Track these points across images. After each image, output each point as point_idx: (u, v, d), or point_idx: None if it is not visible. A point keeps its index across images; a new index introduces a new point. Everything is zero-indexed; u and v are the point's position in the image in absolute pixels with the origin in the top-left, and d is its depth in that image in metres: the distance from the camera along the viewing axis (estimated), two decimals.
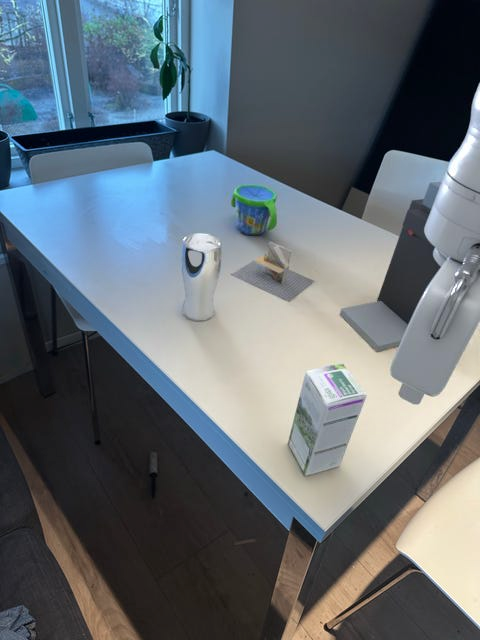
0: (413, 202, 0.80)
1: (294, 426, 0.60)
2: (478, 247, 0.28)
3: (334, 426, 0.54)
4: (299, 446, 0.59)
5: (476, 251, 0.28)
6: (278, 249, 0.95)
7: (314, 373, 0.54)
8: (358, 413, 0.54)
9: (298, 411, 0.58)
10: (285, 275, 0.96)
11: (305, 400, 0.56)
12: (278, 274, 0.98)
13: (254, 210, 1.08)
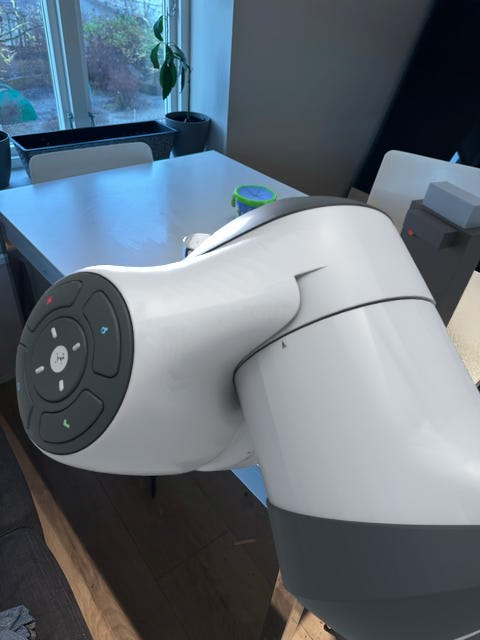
0: (413, 202, 0.80)
1: None
2: None
3: None
4: None
5: None
6: None
7: None
8: None
9: None
10: None
11: None
12: None
13: None
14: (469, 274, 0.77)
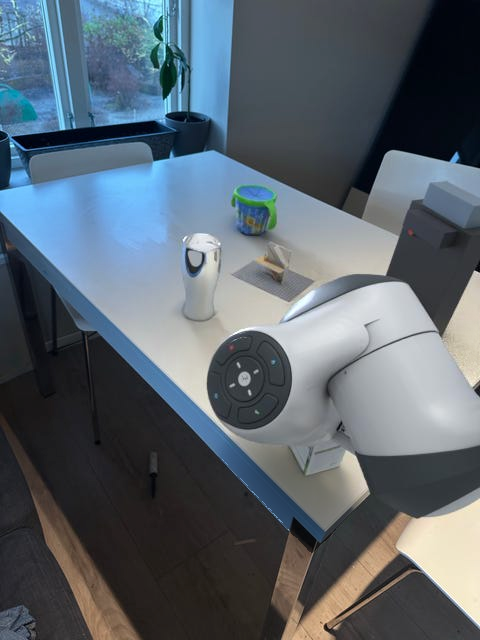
0: (413, 202, 0.80)
1: None
2: (343, 429, 0.43)
3: None
4: None
5: None
6: (278, 249, 0.95)
7: None
8: None
9: None
10: (285, 275, 0.96)
11: None
12: (278, 274, 0.98)
13: (254, 210, 1.08)
14: (469, 274, 0.77)
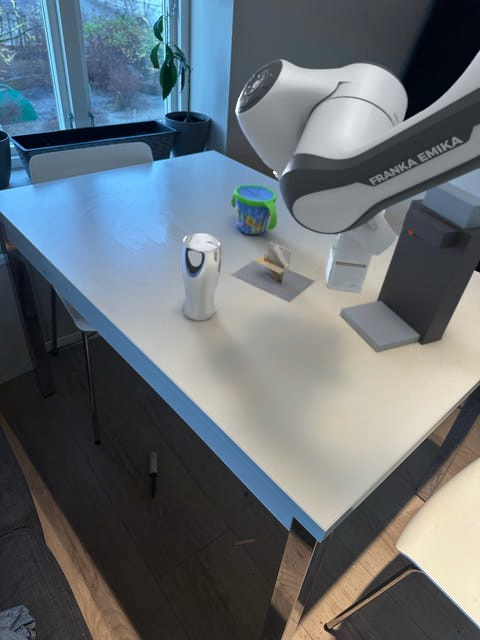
0: (413, 202, 0.80)
1: None
2: None
3: None
4: (329, 264, 0.73)
5: None
6: (278, 249, 0.95)
7: None
8: None
9: None
10: (285, 275, 0.96)
11: None
12: (278, 274, 0.98)
13: (254, 210, 1.08)
14: (469, 274, 0.77)
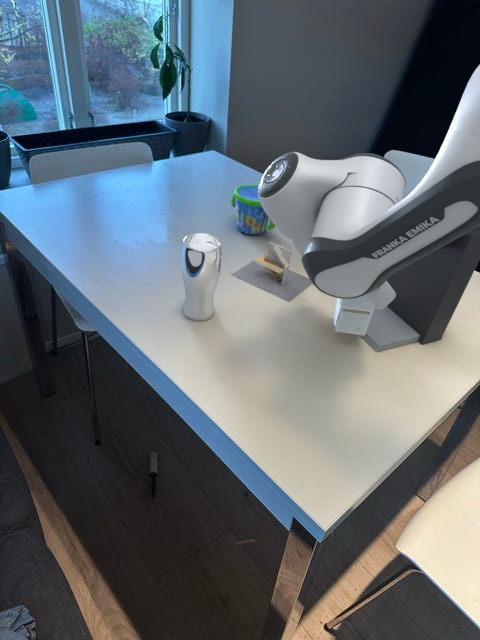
0: None
1: None
2: None
3: None
4: (336, 309, 0.81)
5: None
6: (278, 249, 0.95)
7: None
8: None
9: None
10: (285, 275, 0.96)
11: None
12: (278, 274, 0.98)
13: (254, 210, 1.08)
14: (469, 274, 0.77)
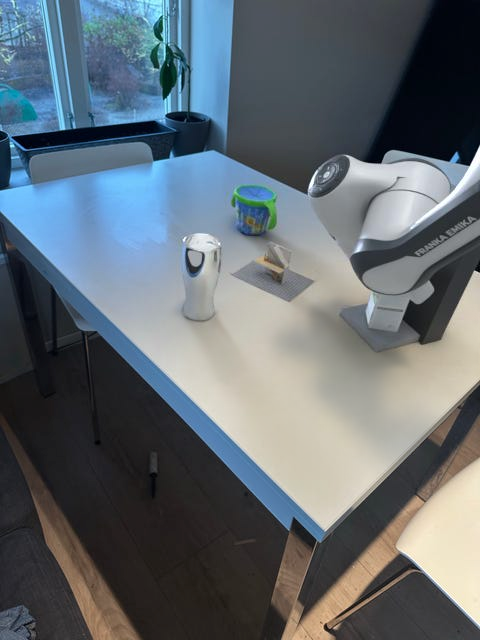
0: None
1: (371, 294, 0.86)
2: None
3: None
4: (370, 307, 0.85)
5: None
6: (278, 249, 0.95)
7: None
8: None
9: None
10: (285, 275, 0.96)
11: None
12: (278, 274, 0.98)
13: (254, 210, 1.08)
14: (469, 274, 0.77)
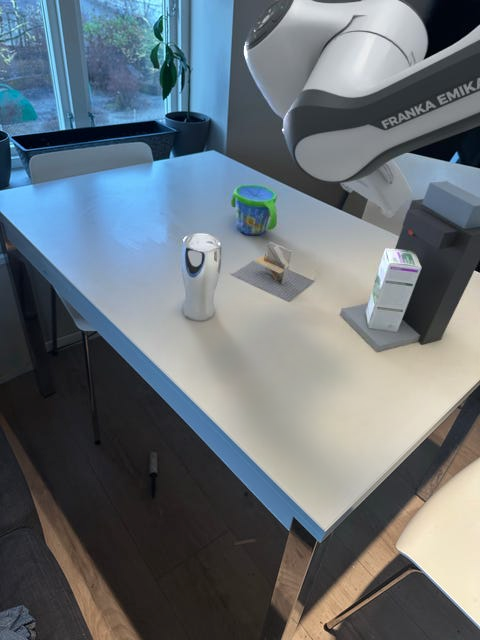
0: (413, 202, 0.80)
1: (371, 294, 0.86)
2: None
3: (393, 287, 0.79)
4: (370, 307, 0.85)
5: None
6: (278, 249, 0.95)
7: (390, 250, 0.80)
8: (414, 283, 0.78)
9: (375, 280, 0.84)
10: (285, 275, 0.96)
11: (380, 269, 0.81)
12: (278, 274, 0.98)
13: (254, 210, 1.08)
14: (469, 274, 0.77)
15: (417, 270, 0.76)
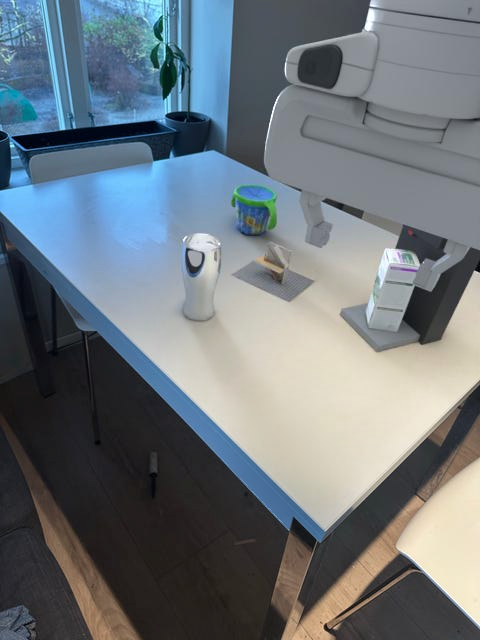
0: None
1: (371, 294, 0.86)
2: None
3: (393, 287, 0.79)
4: (370, 307, 0.85)
5: None
6: (278, 249, 0.95)
7: (390, 250, 0.80)
8: None
9: (375, 280, 0.84)
10: (285, 275, 0.96)
11: (380, 269, 0.81)
12: (278, 274, 0.98)
13: (254, 210, 1.08)
14: (469, 274, 0.77)
15: None
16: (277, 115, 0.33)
